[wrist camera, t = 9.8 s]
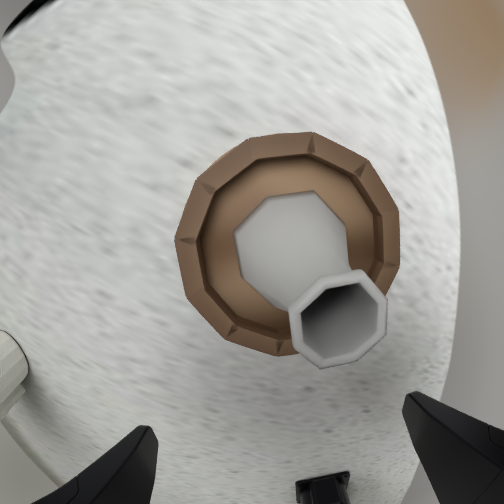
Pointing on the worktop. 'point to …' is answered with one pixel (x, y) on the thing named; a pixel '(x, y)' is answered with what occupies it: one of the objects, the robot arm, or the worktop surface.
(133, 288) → the worktop surface
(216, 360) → the worktop surface
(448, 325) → the worktop surface
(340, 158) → the walnut collar
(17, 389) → the paper towel roll
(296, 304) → the flask
